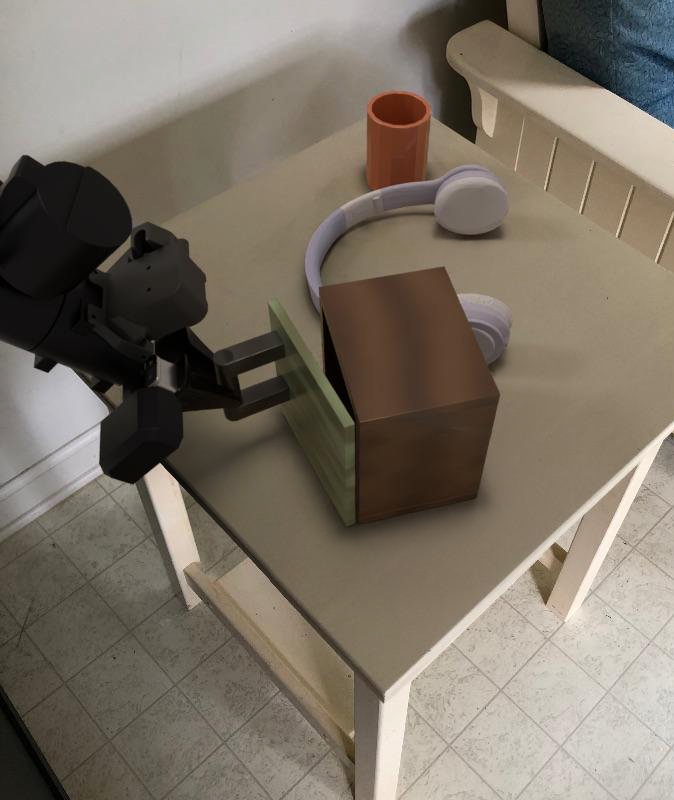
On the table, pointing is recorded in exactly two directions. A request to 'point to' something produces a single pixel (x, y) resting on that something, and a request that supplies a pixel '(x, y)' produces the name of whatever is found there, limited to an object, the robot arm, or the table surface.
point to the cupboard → (408, 390)
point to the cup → (397, 139)
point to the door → (296, 402)
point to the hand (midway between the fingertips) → (235, 392)
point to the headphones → (454, 210)
